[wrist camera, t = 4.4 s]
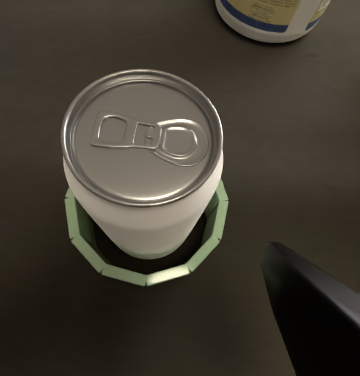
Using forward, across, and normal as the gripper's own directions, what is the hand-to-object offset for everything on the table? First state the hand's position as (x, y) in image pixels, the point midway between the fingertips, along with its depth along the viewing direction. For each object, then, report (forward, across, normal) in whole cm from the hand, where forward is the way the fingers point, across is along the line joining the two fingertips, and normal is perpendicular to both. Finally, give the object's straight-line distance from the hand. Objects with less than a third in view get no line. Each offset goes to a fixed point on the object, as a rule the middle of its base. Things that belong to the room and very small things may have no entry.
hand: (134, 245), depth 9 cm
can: (+11, 0, +5) cm, 12 cm away
